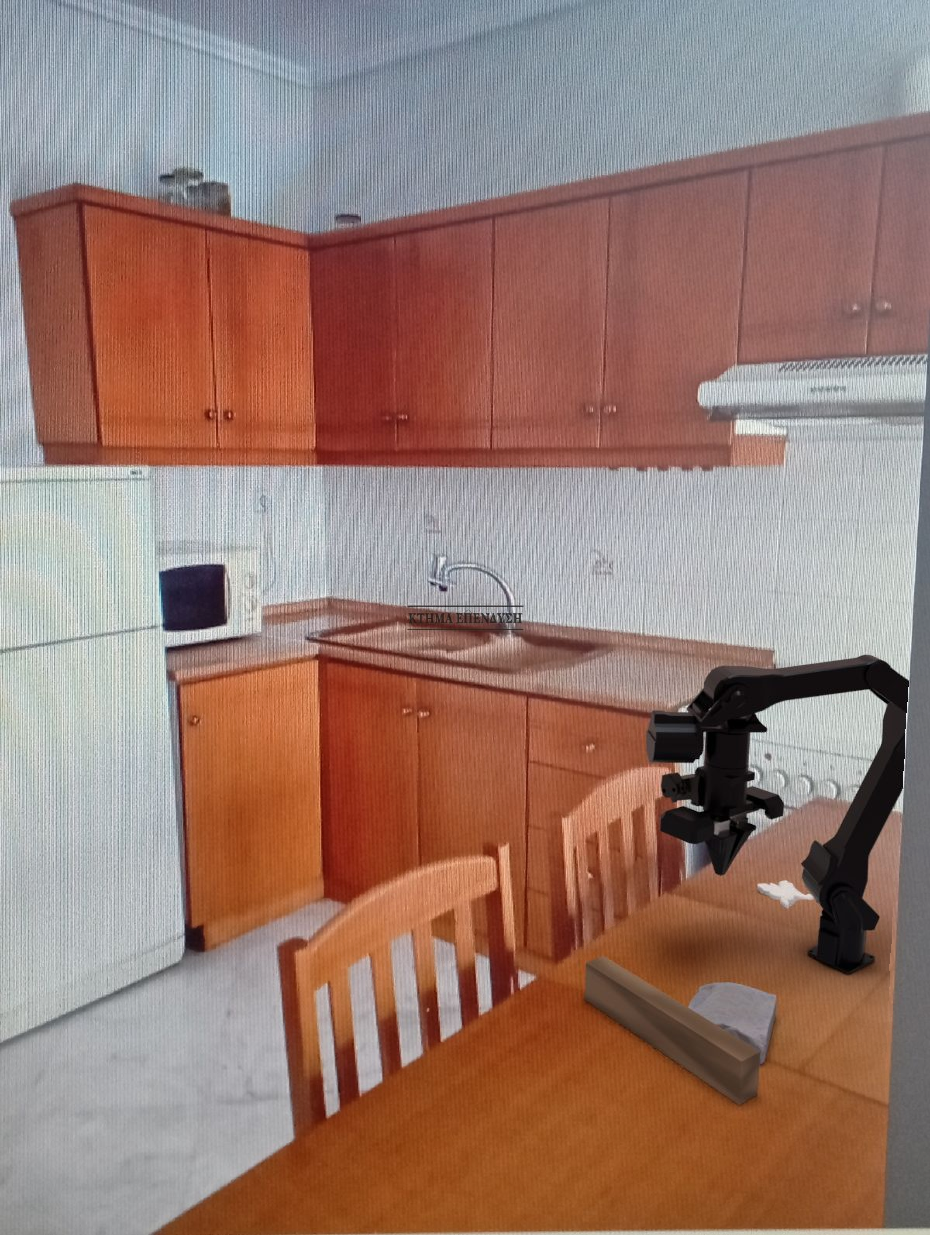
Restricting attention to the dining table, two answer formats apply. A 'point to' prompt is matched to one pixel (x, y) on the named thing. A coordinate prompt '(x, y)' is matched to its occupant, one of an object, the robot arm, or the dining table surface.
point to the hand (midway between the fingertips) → (719, 874)
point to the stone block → (738, 1012)
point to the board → (674, 1029)
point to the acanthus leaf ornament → (783, 893)
